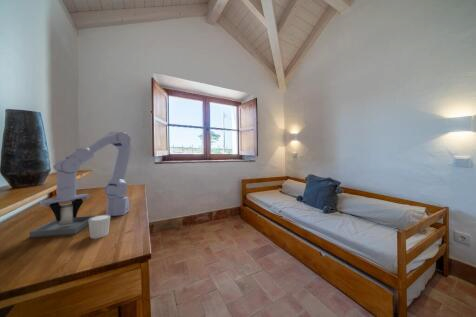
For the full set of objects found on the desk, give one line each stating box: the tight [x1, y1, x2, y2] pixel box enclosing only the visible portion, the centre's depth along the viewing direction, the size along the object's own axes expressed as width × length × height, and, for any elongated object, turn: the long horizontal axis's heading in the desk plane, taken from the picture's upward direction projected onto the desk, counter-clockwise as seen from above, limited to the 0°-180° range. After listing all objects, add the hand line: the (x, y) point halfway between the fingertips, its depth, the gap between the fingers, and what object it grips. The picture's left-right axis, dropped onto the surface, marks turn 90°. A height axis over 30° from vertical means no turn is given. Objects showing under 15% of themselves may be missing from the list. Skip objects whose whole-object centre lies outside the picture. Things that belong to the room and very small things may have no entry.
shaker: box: [59, 203, 74, 226], centre depth 71 cm, size 5×5×8 cm
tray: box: [29, 215, 96, 239], centre depth 71 cm, size 14×14×2 cm
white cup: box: [88, 214, 111, 239], centre depth 66 cm, size 7×7×7 cm
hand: (66, 218), depth 71 cm, fingers closed on shaker, 4 cm apart
